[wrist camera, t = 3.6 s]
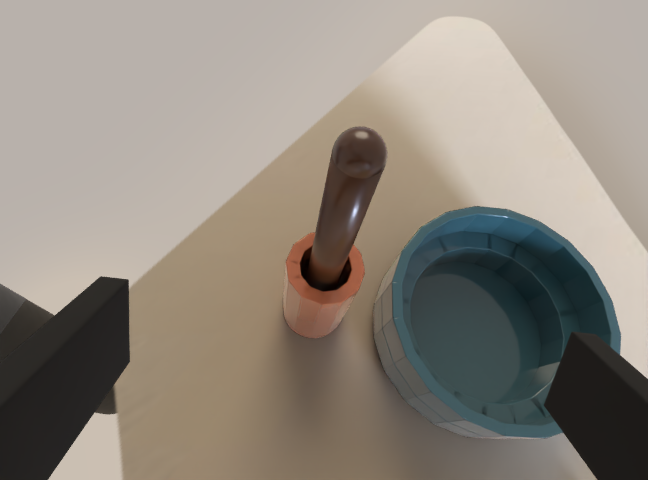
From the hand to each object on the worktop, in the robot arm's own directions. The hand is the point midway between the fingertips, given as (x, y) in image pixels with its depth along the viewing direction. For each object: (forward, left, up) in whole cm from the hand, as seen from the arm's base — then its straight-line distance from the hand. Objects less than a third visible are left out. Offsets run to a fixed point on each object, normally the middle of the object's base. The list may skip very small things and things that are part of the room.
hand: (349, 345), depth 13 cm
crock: (-2, +6, -19) cm, 21 cm away
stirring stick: (-2, +6, -19) cm, 20 cm away
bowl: (+10, +9, -19) cm, 24 cm away
